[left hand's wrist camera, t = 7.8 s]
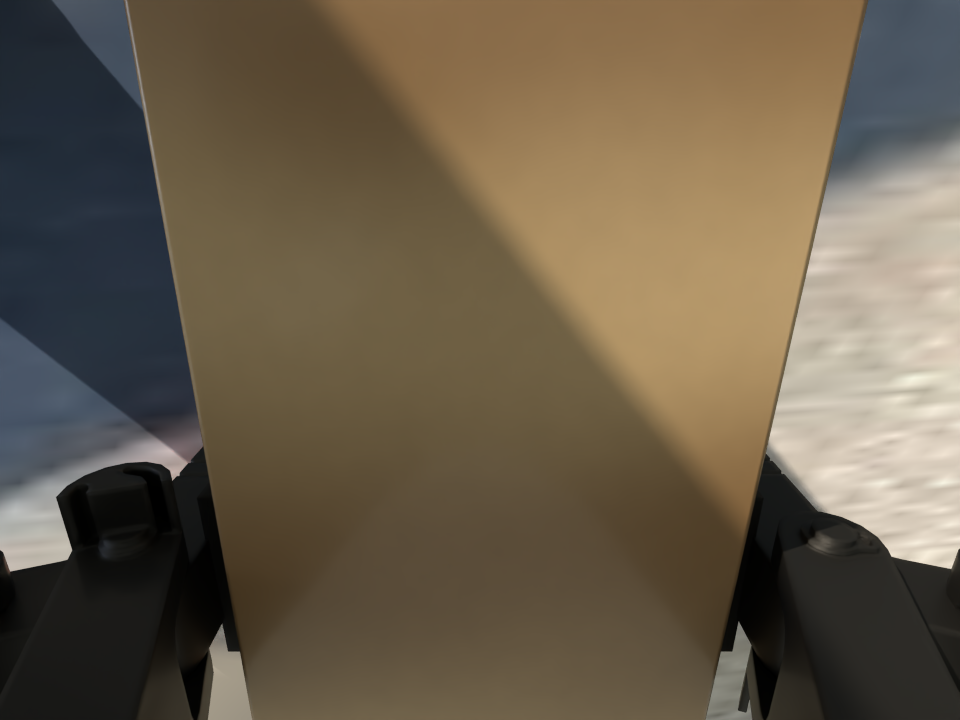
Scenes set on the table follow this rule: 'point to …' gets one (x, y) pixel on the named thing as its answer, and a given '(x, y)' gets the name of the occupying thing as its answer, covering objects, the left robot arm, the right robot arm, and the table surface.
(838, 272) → the table surface
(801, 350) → the table surface
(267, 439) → the beam
